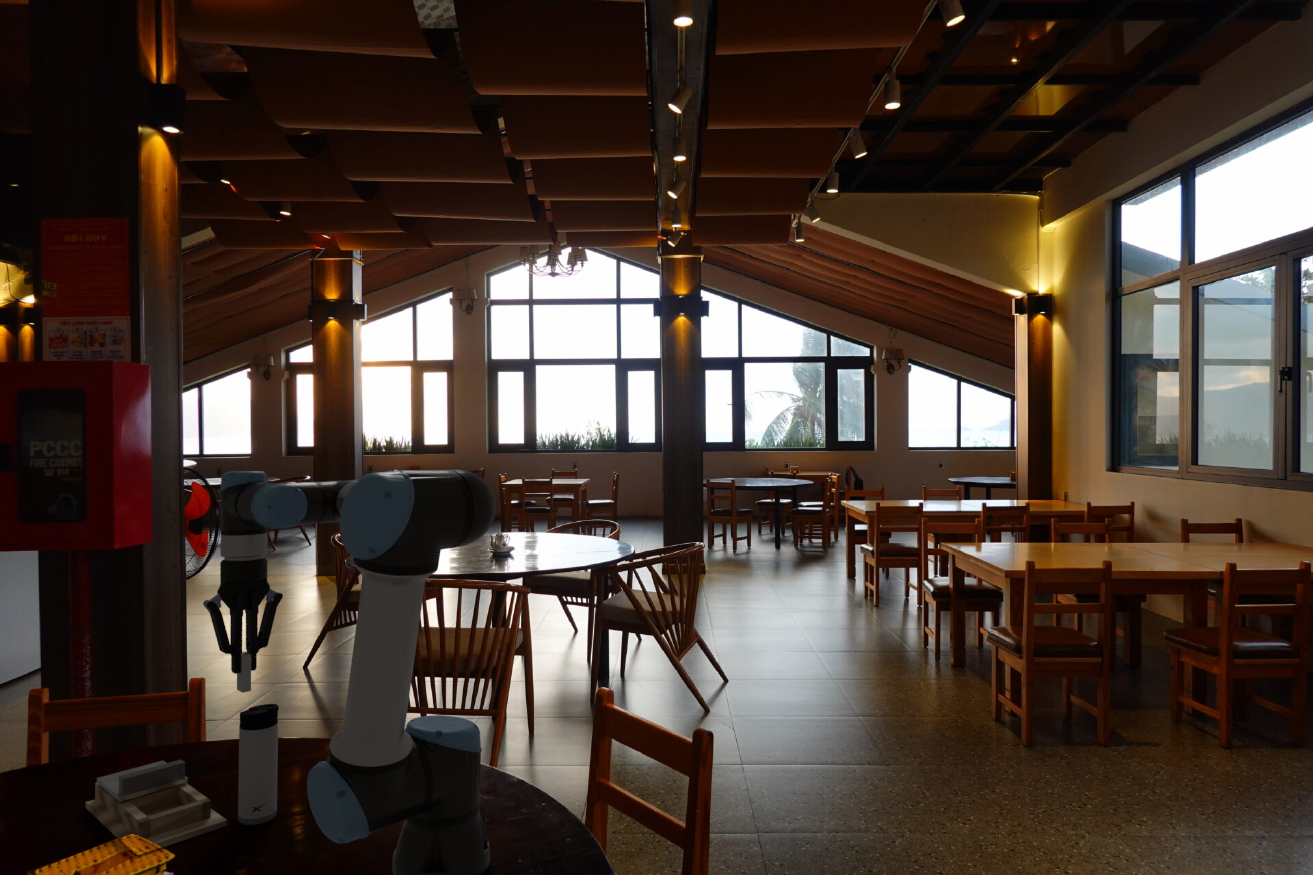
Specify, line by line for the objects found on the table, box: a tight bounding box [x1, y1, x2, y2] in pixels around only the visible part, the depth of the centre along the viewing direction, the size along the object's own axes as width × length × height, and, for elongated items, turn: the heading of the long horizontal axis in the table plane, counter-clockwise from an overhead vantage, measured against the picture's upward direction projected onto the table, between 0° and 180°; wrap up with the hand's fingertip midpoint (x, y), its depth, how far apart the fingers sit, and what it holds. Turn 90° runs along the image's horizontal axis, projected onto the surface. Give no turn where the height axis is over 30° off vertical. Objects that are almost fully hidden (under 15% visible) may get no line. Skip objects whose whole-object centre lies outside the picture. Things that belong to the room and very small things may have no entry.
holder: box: [84, 782, 228, 848], centre depth 146 cm, size 26×14×4 cm, turn 50°
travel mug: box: [237, 703, 280, 826], centre depth 147 cm, size 6×7×20 cm
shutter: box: [96, 759, 189, 802], centre depth 150 cm, size 12×11×4 cm
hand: (243, 690), depth 146 cm, fingers closed
